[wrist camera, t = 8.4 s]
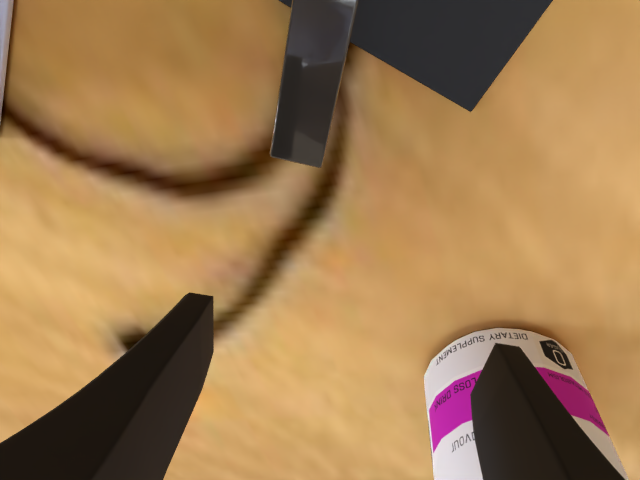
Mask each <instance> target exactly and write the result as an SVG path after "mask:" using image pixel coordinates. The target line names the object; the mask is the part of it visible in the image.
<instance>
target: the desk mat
mask: <svg viewBox="0 0 640 480" xmlns="http://www.w3.org/2000/svg"><path fill="white" fill-rule="evenodd" d="M279 1H281V2H282V3H284V4H286V5H287V6H289V7H291V6H292V0H279ZM552 1H553V0H359V3H358V7H357V12H356V16H355V21H354V25H353V30H352V34H351V39H350V42H351V43H353V44H355V45H356V46H358V47H360V48H362V49H363V50H365V51H367V52H368V53H370V54H372V55H374V56H375V57H377V58H379V59H380V60H382V61H384V62H386V63H387V64H389V65H391V66H393V67H394V68H396V69H398V70H399V71H401V72H403V73H405V74H406V75H408V76H410V77H411V78H413V79H415V80H417V81H418V82H420V83H422V84H424V85H425V86H427V87H429V88H430V89H432V90H434V91H436V92H437V93H439V94H441V95H443V96H444V97H446V98H448V99H449V100H451V101H453V102H455V103H456V104H458V105H460V106H461V107H463V108H465V109H467V110H468V111H470V112H471V111H472V110H473V108H474V107H475V106H476V104H477V103H478V102H479V100H480V99H481V98H482V96H483V95H484V93H485V92H486V91H487V89H488V88H489V87H490V85H491V84H492V83H493V81H494V80H495V78H496V77H497V76H498V74H499V73H500V72H501V70H502V69H503V67H504V66H505V65H506V63H507V62H508V61H509V59H510V58H511V57H512V55H513V54H514V52H515V51H516V50H517V48H518V47H519V46H520V44H521V43H522V42H523V40H524V39H525V37H526V36H527V35H528V33H529V32H530V31H531V29H532V28H533V27H534V25H535V24H536V22H537V21H538V20H539V18H540V17H541V16H542V14H543V13H544V11H545V10H546V9H547V7H548V6H549V5H550V3H551V2H552Z"/></svg>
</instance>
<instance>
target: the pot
mask: <svg viewBox="0 0 640 480" xmlns="http://www.w3.org/2000/svg"><path fill="white" fill-rule="evenodd" d="M358 3H359V0H292V6H291V13H290V20H289V27H288V34H287V40H286V47H285V54H284V61H283V67H282V74H281V81H280V88H279V94H278V101H277V108H276V115H275V122H274V128H273V135H272V142H271V149H270V156H271V157H274V158H278V159H283V160H287V161H291V162H296V163H300V164H305V165H309V166H313V167H318V168H321V167H322V165H323V161H324V156H325V152H326V147H327V143H328V138H329V134H330V129H331V125H332V120H333V116H334V111H335V107H336V102H337V98H338V93H339V88H340V84H341V79H342V75H343V70H344V66H345V61H346V57H347V52H348V48H349V43H350V39H351V34H352V30H353V25H354V21H355V16H356V12H357V7H358Z"/></svg>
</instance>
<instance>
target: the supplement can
mask: <svg viewBox="0 0 640 480" xmlns="http://www.w3.org/2000/svg"><path fill="white" fill-rule="evenodd" d="M495 343H500V344H506V345H513V346H519V347H520V348H521V349H522V350H523V352H524V353H525V354H526V356H527V357H528V358H529V360H530V361H531V362H532V364H533V365H534V367H535V368H536V369H537V371H538V372H539V373H540V375H541V376H542V377H543V379H544V380H545V381H546V383H547V384H548V386H549V387H550V388H551V390H552V391H553V392H554V394H555V395H556V396H557V398H558V399H559V400H560V402H561V403H562V404H563V405H564V407H565V408H566V409H567V411H568V412H569V413H570V415H571V416H572V417H573V418H574V420H575V421H576V422H577V423H578V425H579V426H580V427H581V428H582V430H583V431H584V432H585V433H586V435H587V436H588V437H589V438H590V440H591V441H592V442H593V443H594V444H595V445H596V447H597V448H598V449H599V450H600V451H601V453H602V454H603V455H604V456H605V457H606V458H607V460H608V461H609V462H610V463H611V464H612V465H613V467H614V468H615V469H616V470H617V471H618V472H619V473H620V474H621V475H622V477H623V478H624V479H625V480H629V478H628V476H627V474H626V472H625V470H624V467H623V465H622V463H621V461H620V459H619V456H618V454H617V452H616V450H615V448H614V445H613V443H612V441H611V439H610V437H609V434H608V432H607V430H606V428H605V426H604V423H603V421H602V419H601V417H600V415H599V412H598V410H597V408H596V406H595V404H594V401H593V399H592V397H591V395H590V393H589V390H588V388H587V386H586V384H585V382H584V379H583V377H582V375H581V373H580V371H579V369H578V366H577V364H576V362H575V360H574V358H573V355H572V354H571V353H570V352H569V351H568V350H567V349H565V348H564V347H563V346H562V345H561V344H559V343H558V342H557V341H556V340H554V339H551V338H548V337H546V336H543V335H540V334H537V333H534V332H532V331H525V330H522V329H510V328H493V329H488V330H482V331H476V332H473V333H471V334H468V335H466V336H464V337H462V338H459V339H457V340H455V341H453V342H452V343H451V344H449V345H448V346H447V347H445V348H444V349H443V350H442V351H441V352H440V353H439V354H438V355H436V356H435V357H434V358H433V359H432V360H431V362H430V364H429V367H428V369H427V371H426V373H425V375H424V385H425V397H426V406H427V416H428V426H429V435H430V445H431V454H432V464H433V474H434V480H483V477H482V472H481V468H480V463H479V458H478V453H477V449H476V444H475V439H474V433H473V423H472V412H471V397H470V394H471V392H472V390H473V388H474V386H475V384H476V381H477V379H478V377H479V375H480V373H481V371H482V369H483V367H484V365H485V363H486V361H487V359H488V357H489V355H490V353H491V351H492V349H493V347H494V345H495Z"/></svg>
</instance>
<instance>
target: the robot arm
mask: <svg viewBox="0 0 640 480" xmlns="http://www.w3.org/2000/svg"><path fill="white" fill-rule="evenodd" d="M13 2H14V0H0V124H1V114H2V105H3V96H4V86H5V77H6V68H7V58H8V49H9V40H10V30H11V21H12V12H13ZM212 355H213V296H207V295H201V294H195V293H188V294H187V295H185V296H184V297H183V298H182V299H181V300H180V301H179V303H178V304H177V305H176V306H175V307H174V308H173V309H172V310H171V311H170V312H169V313H168V314H167V315H166V316H165V317H164V318H163V319H162V320H161V321H160V322H159V323H158V324H157V325H156V326H155V327H154V328H152V329H151V330H150V331H149V332H148V333H147V334H146V335H145V336H144V337H143V338H142V339H141V340H140V341H138V342H137V343H136V344H135V345H134V346H133V347H132V348H131V349H130V350H129V351H127V352H126V353H125V354H124V355H123V356H122V357H120V358H119V359H118V360H117V361H116V362H114V363H113V364H112V365H111V366H110V367H108V368H107V369H106V370H105V371H104V372H102V373H101V374H100V375H99V376H98V377H96V378H95V379H94V380H92V381H91V382H90V383H89V384H87V385H86V386H85V387H83V388H82V389H81V390H79V391H78V392H77V393H75V394H74V395H73V396H71V397H70V398H68V399H67V400H66V401H64V402H63V403H61V404H60V405H59V406H57V407H56V408H54V409H53V410H51V411H50V412H48V413H47V414H45V415H44V416H42V417H41V418H39V419H38V420H36V421H35V422H33V423H32V424H30V425H29V426H27V427H26V428H24V429H22V430H21V431H19V432H18V433H16V434H14V435H13V436H11V437H10V438H8V439H6V440H5V441H3V442H1V443H0V480H163V478H164V476H165V473H166V471H167V468H168V466H169V464H170V462H171V459H172V457H173V455H174V452H175V450H176V448H177V446H178V443H179V441H180V439H181V436H182V434H183V432H184V430H185V427H186V425H187V423H188V420H189V418H190V416H191V414H192V411H193V409H194V407H195V404H196V402H197V400H198V397H199V395H200V393H201V390H202V388H203V385H204V381H205V378H206V375H207V372H208V368H209V365H210V362H211V358H212ZM470 397H471V412H472V423H473V433H474V439H475V444H476V449H477V453H478V458H479V463H480V468H481V472H482V477H483V480H625V479H624V478H623V477H622V475H621V474H620V473H619V472H618V471H617V470H616V469H615V468H614V467H613V465H612V464H611V463H610V462H609V461H608V460H607V458H606V457H605V456H604V455H603V454H602V453H601V451H600V450H599V449H598V448H597V447H596V445H595V444H594V443H593V442H592V441H591V440H590V438H589V437H588V436H587V435H586V433H585V432H584V431H583V430H582V428H581V427H580V426H579V425H578V423H577V422H576V421H575V420H574V418H573V417H572V416H571V415H570V413H569V412H568V411H567V409H566V408H565V407H564V405H563V404H562V403H561V402H560V400H559V399H558V398H557V396H556V395H555V394H554V392H553V391H552V390H551V388H550V387H549V386H548V384H547V383H546V381H545V380H544V379H543V377H542V376H541V375H540V373H539V372H538V371H537V369H536V368H535V367H534V365H533V364H532V362H531V361H530V360H529V358H528V357H527V356H526V354H525V353H524V352H523V350H522V349H521V348H520V347H519V346H513V345H506V344H500V343H495V345H494V347H493V349H492V351H491V353H490V355H489V357H488V359H487V361H486V363H485V365H484V367H483V369H482V371H481V373H480V375H479V377H478V379H477V381H476V384H475V386H474V388H473V390H472V392H471V394H470Z"/></svg>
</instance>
